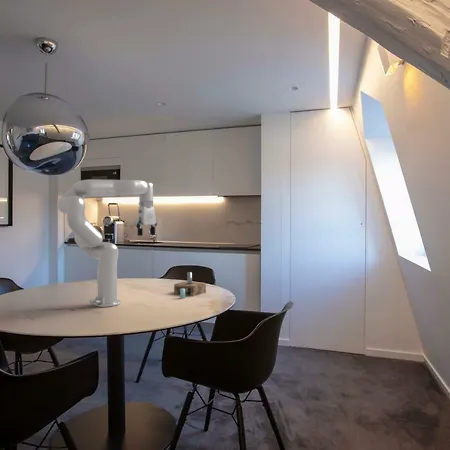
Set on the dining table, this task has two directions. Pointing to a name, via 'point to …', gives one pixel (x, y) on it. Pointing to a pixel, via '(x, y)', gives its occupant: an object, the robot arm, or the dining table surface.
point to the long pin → (189, 280)
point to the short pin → (182, 293)
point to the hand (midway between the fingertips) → (146, 235)
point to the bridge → (195, 287)
